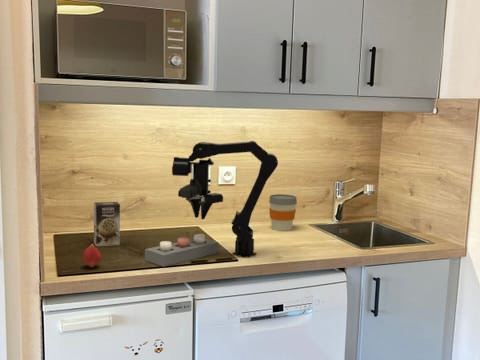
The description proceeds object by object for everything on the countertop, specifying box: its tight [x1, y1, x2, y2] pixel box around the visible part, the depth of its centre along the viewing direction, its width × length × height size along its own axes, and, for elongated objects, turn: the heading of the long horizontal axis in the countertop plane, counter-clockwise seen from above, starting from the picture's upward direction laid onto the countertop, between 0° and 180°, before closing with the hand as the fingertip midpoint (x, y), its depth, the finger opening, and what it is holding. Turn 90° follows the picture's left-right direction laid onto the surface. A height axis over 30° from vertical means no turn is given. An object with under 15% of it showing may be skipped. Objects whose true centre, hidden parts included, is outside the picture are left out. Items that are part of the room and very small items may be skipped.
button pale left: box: [159, 240, 172, 252], centre depth 181 cm, size 4×4×3 cm
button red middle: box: [176, 237, 190, 248], centre depth 187 cm, size 4×4×3 cm
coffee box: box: [93, 201, 121, 247], centre depth 199 cm, size 9×6×16 cm
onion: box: [82, 243, 102, 268], centre depth 171 cm, size 6×6×8 cm
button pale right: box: [193, 233, 206, 244], centre depth 192 cm, size 4×4×3 cm
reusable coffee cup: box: [268, 193, 298, 232], centre depth 235 cm, size 13×13×15 cm
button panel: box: [144, 238, 219, 268], centre depth 187 cm, size 10×26×4 cm, turn 137°
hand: (199, 218), depth 191 cm, fingers open, 3 cm apart
